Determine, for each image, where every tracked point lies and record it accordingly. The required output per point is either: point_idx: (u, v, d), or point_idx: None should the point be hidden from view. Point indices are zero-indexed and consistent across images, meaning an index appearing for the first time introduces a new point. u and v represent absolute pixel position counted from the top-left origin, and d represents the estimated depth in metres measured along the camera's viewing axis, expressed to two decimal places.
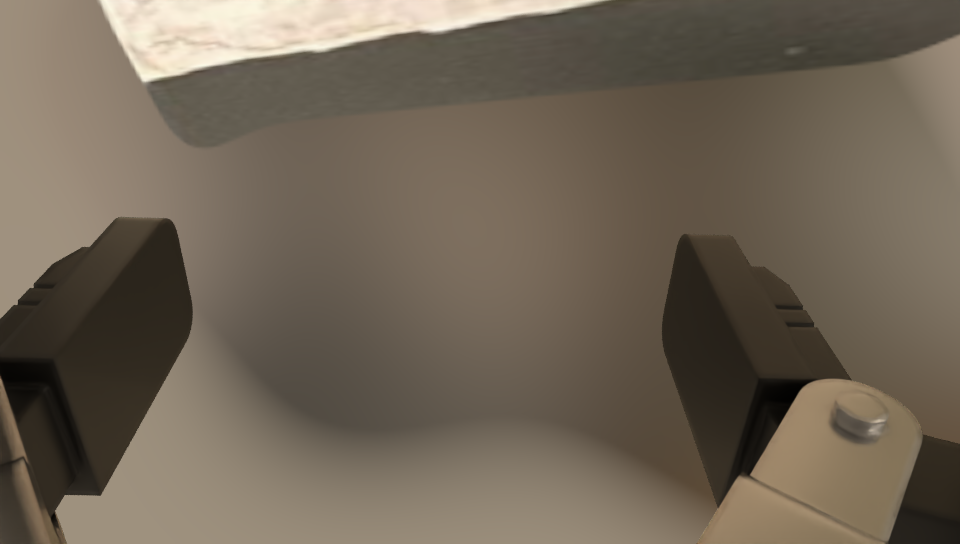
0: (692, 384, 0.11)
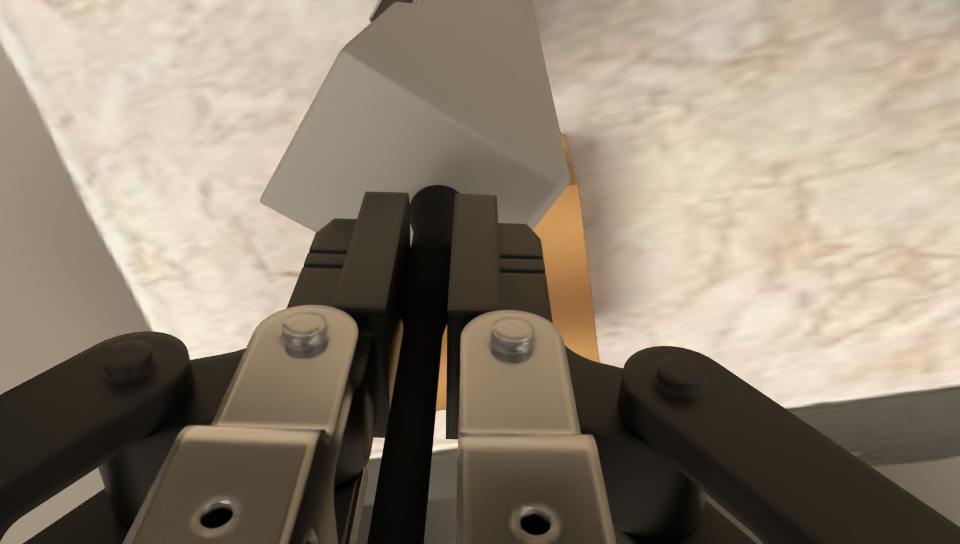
0: None
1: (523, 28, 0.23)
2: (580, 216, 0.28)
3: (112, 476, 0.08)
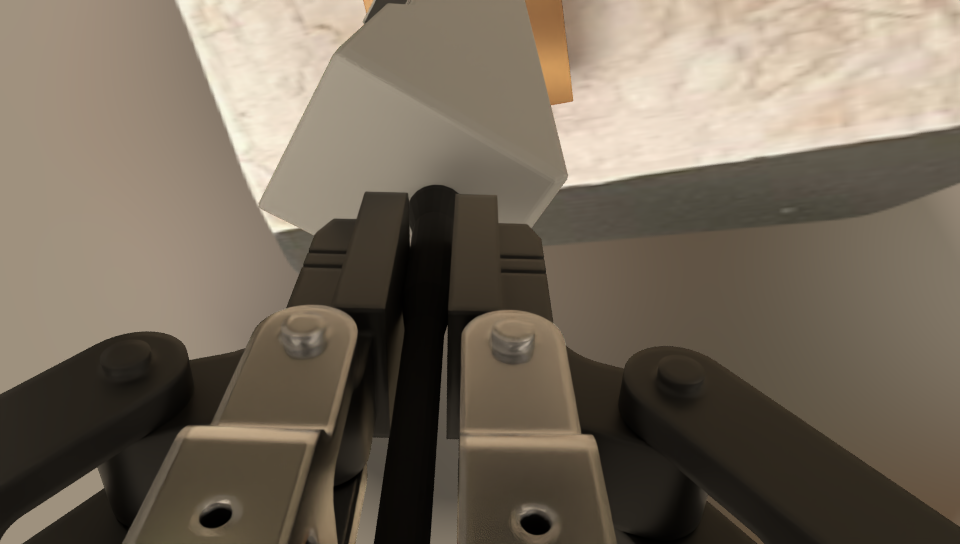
0: None
1: (517, 26, 0.23)
2: None
3: (112, 476, 0.08)
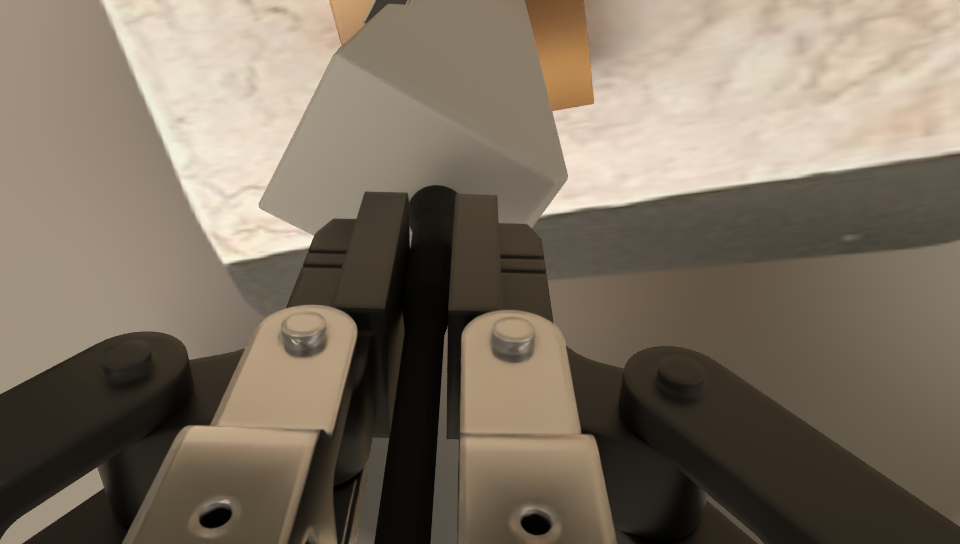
0: None
1: (517, 26, 0.23)
2: None
3: (112, 475, 0.08)
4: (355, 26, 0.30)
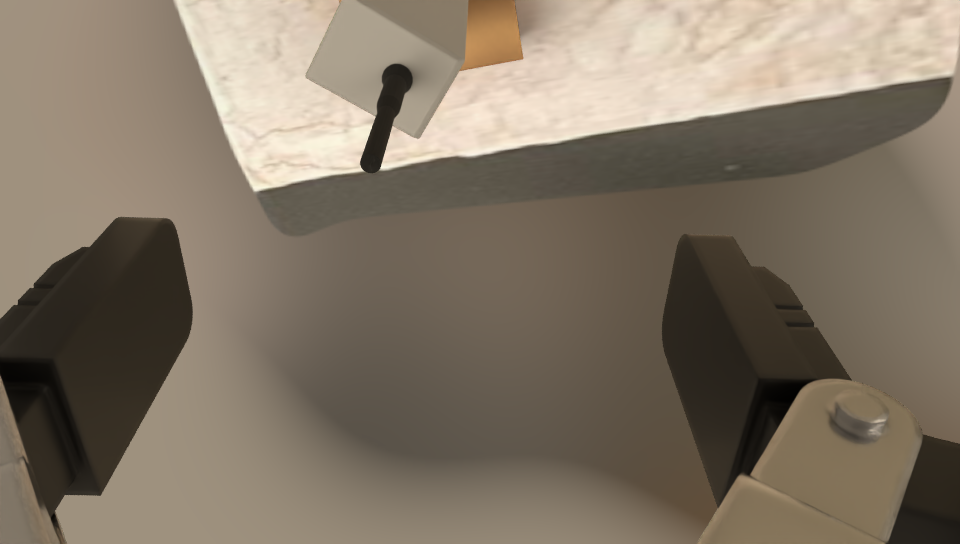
0: (692, 384, 0.11)
1: None
2: None
3: None
4: None
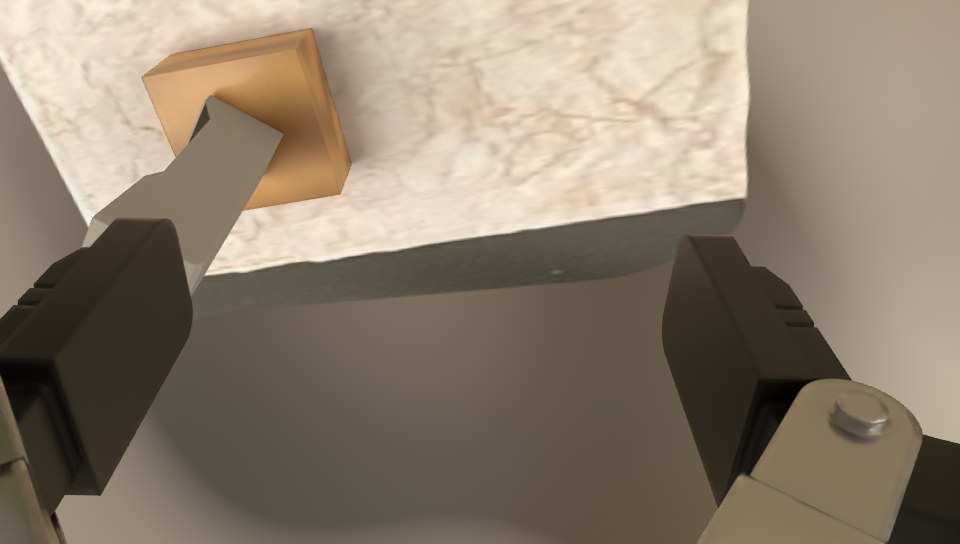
0: (692, 384, 0.11)
1: (251, 163, 0.42)
2: (301, 70, 0.45)
3: None
4: None
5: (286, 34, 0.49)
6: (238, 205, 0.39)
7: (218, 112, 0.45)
